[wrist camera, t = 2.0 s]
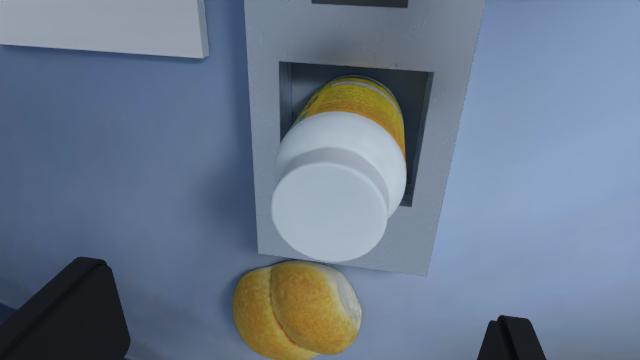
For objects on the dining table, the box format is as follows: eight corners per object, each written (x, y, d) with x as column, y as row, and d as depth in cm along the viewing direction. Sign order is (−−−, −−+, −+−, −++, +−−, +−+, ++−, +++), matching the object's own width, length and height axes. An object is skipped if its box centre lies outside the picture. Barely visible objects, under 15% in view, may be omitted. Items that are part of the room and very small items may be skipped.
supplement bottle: (388, 175, 23) (383, 296, 14) (298, 152, 23) (243, 258, 15) (417, 85, 20) (432, 168, 12) (315, 60, 20) (259, 125, 12)
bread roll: (221, 273, 29) (197, 315, 26) (328, 240, 26) (318, 282, 22) (275, 348, 32) (260, 394, 28) (377, 326, 29) (375, 375, 25)
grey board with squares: (250, -303, 14) (223, -353, 12) (537, -320, 13) (567, -380, 11) (269, 229, 26) (257, 254, 24) (424, 249, 25) (427, 277, 22)
